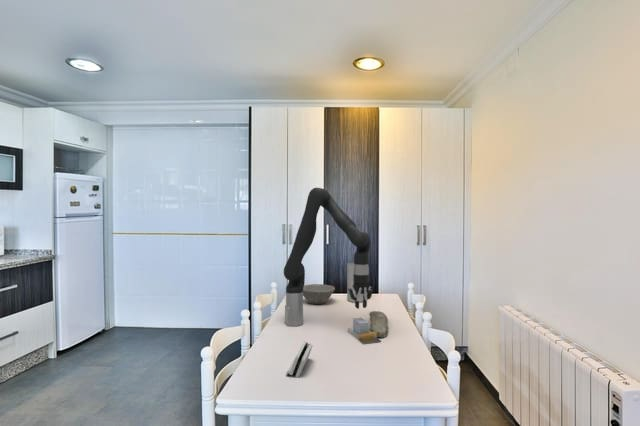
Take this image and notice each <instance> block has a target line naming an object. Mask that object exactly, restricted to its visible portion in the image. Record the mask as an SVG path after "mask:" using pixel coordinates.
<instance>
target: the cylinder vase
mask: <svg viewBox="0 0 640 426" xmlns="http://www.w3.org/2000/svg"><path fill="white" fill-rule="evenodd" d="M346 268H347V270H346V271H347V272H346V273H347V280H346V283H347V285H346V287H347V288H346V290H347V291H346V292H347V293H346V295H347V297H346V299H347V301H348V302H350V303H355V300H353V299H351V296H350V294H349V291H348V288H352V287H353V284H354V282H353V268H354V261H353V262H347V265H346ZM353 294H354V296H355V290H353ZM361 303H363V295H362V294H360V297H359V304H361Z"/></svg>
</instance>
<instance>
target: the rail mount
mask: <svg viewBox="0 0 640 426" xmlns="http://www.w3.org/2000/svg"><path fill="white" fill-rule="evenodd" d="M347 333H348V334H350V335H351V336H352V337H354V338H355V339H356V340H357V341H358V342H359V343H361V344H362V345H370V344H377V343H381V342H382V340H380V339H379V337H377V333H376V332H372V331H371V329H370V330H369V329H368V333H361V334H356V333H355V332H354V331H353V329H352V328H350V327H347Z"/></svg>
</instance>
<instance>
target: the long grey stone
mask: <svg viewBox="0 0 640 426" xmlns="http://www.w3.org/2000/svg"><path fill="white" fill-rule="evenodd" d="M369 319H370V331H371V332H376V333H377V338H385V336H386V335H387V334H388V330H389V327H388V325H389V322H388V320H389V319H388V317H387V315H386V314H385V313H384V312H382V311H376V310H373V311H369Z"/></svg>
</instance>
